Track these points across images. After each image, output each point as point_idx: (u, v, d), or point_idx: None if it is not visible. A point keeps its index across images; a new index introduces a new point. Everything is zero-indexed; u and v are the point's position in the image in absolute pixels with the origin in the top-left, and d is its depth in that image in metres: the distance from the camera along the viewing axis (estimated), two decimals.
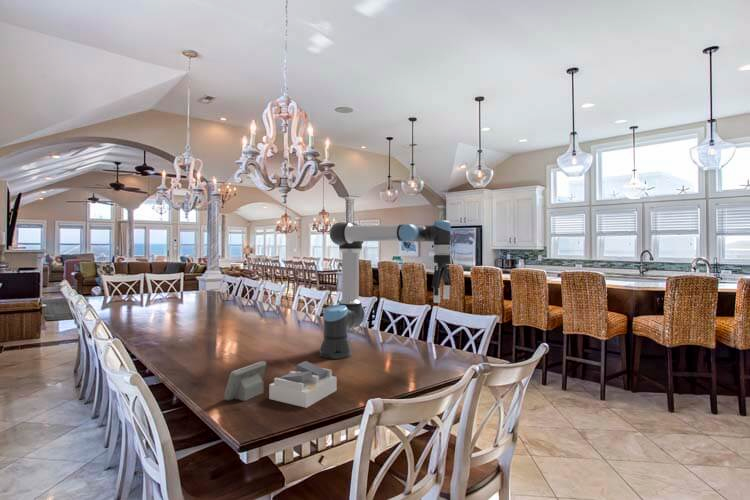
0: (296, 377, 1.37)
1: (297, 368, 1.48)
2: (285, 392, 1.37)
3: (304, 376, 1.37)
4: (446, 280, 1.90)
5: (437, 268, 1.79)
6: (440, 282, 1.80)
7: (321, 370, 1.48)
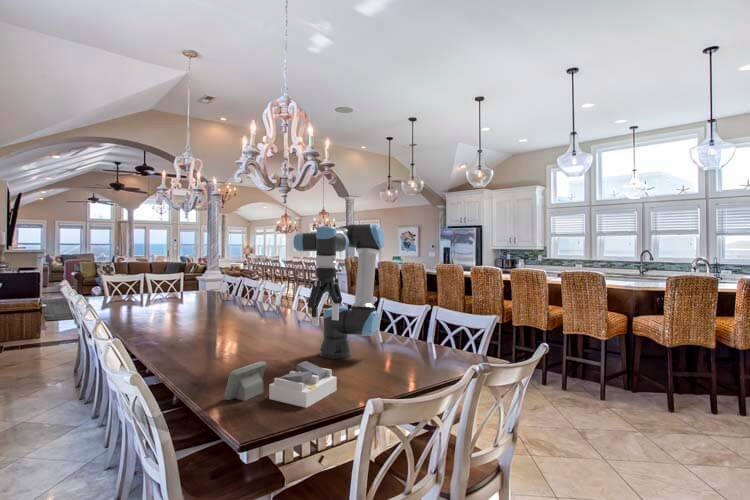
0: (296, 377, 1.37)
1: (297, 368, 1.48)
2: (285, 392, 1.37)
3: (304, 376, 1.37)
4: (334, 297, 1.59)
5: (316, 284, 1.48)
6: None
7: (321, 370, 1.48)
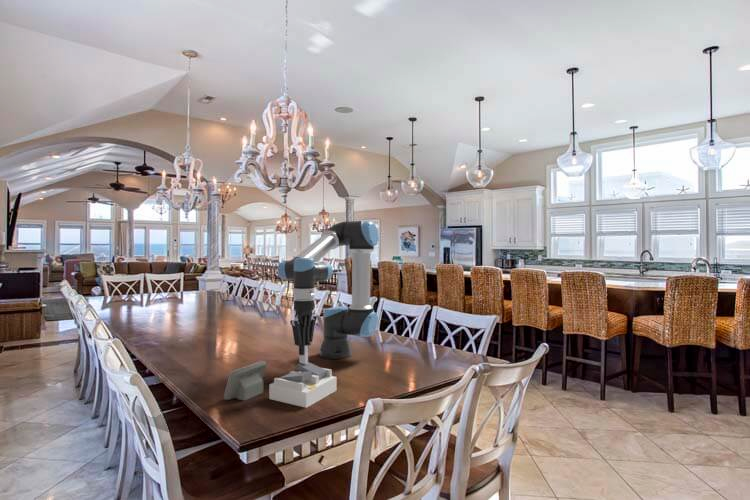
0: (296, 377, 1.37)
1: (297, 368, 1.48)
2: (285, 392, 1.37)
3: (304, 376, 1.37)
4: (305, 335, 1.50)
5: (294, 324, 1.45)
6: (305, 336, 1.49)
7: (321, 370, 1.48)
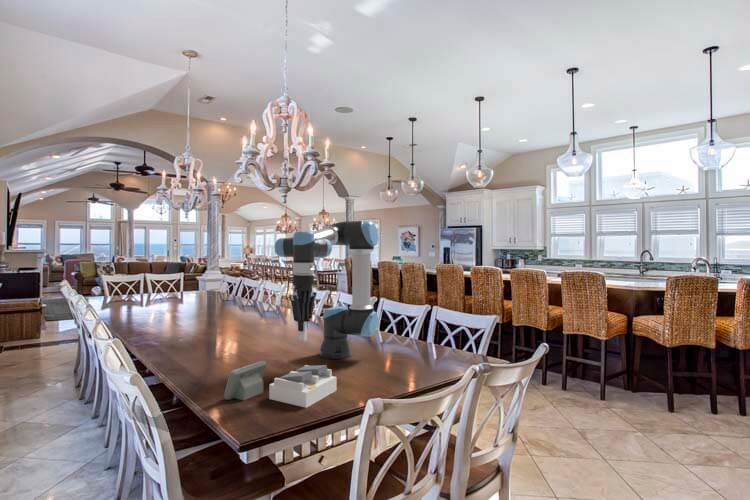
0: (296, 377, 1.37)
1: None
2: (285, 392, 1.37)
3: (304, 376, 1.37)
4: (305, 312, 1.46)
5: (293, 299, 1.41)
6: (304, 312, 1.45)
7: (320, 366, 1.48)
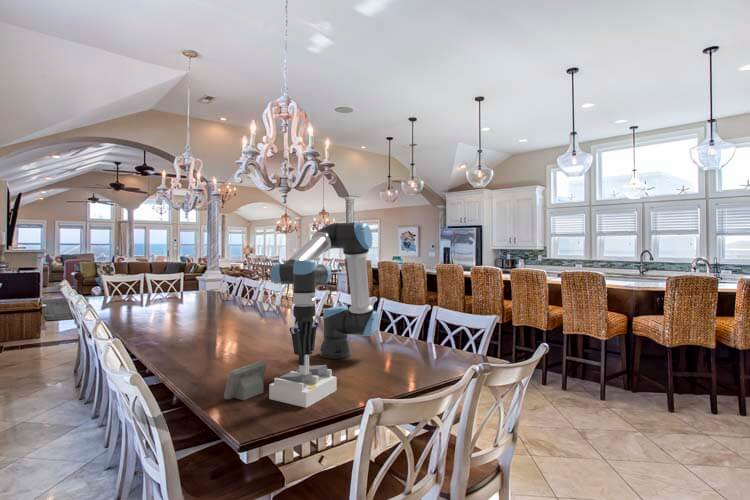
0: (296, 377, 1.37)
1: None
2: (285, 392, 1.37)
3: (304, 377, 1.37)
4: (306, 344, 1.39)
5: (293, 332, 1.33)
6: (305, 345, 1.37)
7: (320, 366, 1.48)
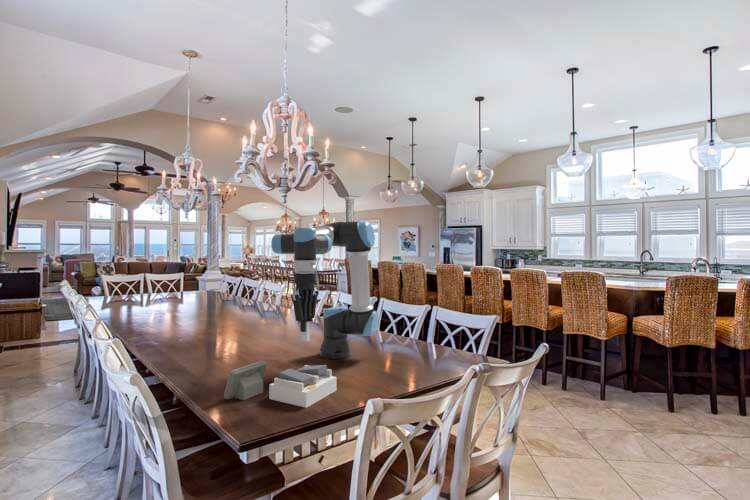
0: (297, 380, 1.37)
1: None
2: (285, 392, 1.37)
3: (304, 381, 1.37)
4: (307, 311, 1.40)
5: (295, 299, 1.35)
6: (306, 312, 1.39)
7: (320, 366, 1.48)
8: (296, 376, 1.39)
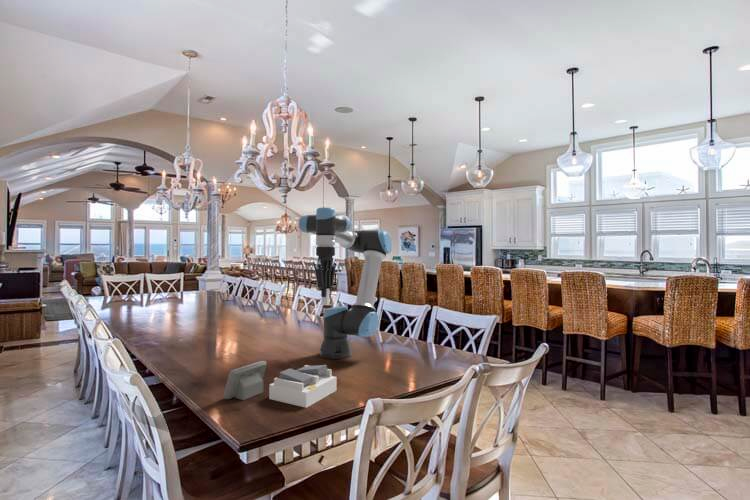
0: (297, 380, 1.37)
1: None
2: (285, 392, 1.37)
3: (304, 382, 1.37)
4: (327, 280, 1.63)
5: (317, 267, 1.57)
6: (327, 280, 1.62)
7: (320, 366, 1.48)
8: (296, 376, 1.39)
